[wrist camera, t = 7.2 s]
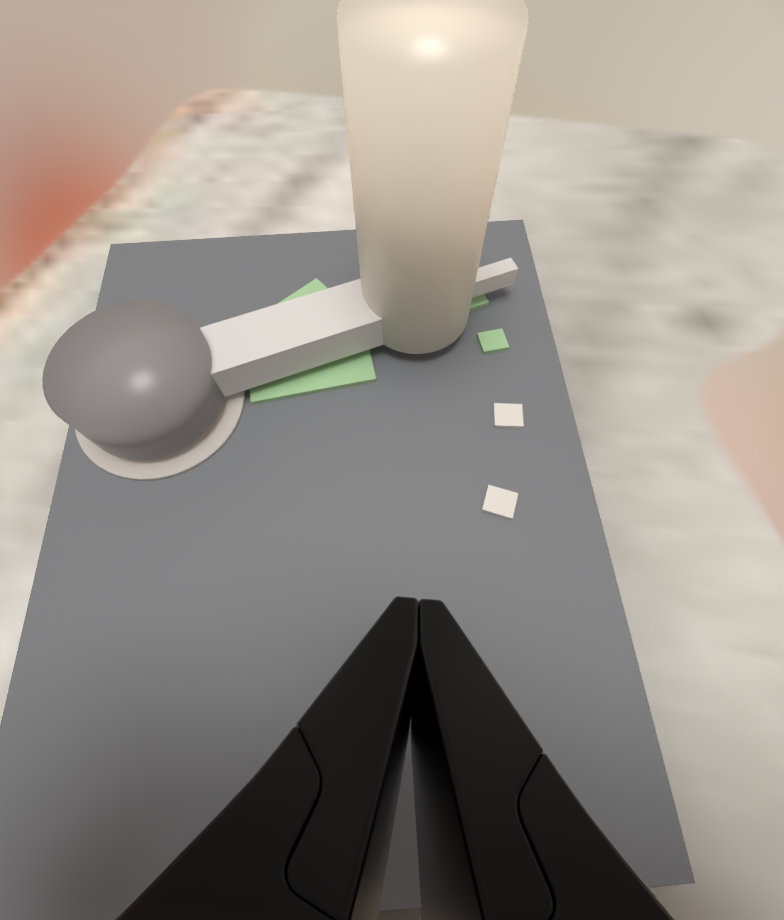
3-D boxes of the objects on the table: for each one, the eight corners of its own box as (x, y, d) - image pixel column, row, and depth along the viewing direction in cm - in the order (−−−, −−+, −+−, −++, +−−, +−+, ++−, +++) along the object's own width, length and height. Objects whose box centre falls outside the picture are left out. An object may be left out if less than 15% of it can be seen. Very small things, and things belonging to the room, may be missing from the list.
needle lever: (91, 481, 15) (-259, 265, 7) (74, 362, 17) (-220, 84, 9) (540, 327, 18) (664, 32, 10) (481, 238, 20) (542, -73, 11)
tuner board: (672, 867, 13) (699, 886, 11) (-18, 929, 12) (-59, 954, 11) (516, 236, 22) (523, 213, 21) (123, 260, 21) (108, 238, 20)
